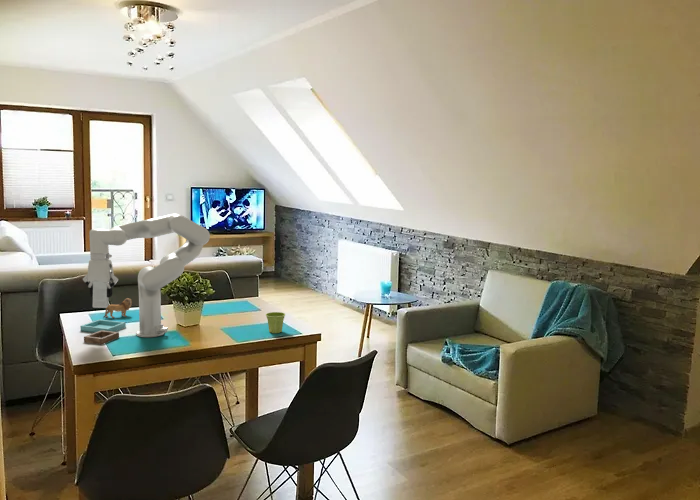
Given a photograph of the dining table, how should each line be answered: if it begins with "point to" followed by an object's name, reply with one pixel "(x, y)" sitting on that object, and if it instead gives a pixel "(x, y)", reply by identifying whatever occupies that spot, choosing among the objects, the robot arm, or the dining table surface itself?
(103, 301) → the skincare box
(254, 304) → the dining table surface
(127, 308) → the lion figurine
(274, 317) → the plant pot
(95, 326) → the tray
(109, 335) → the holder collar
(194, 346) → the dining table surface
